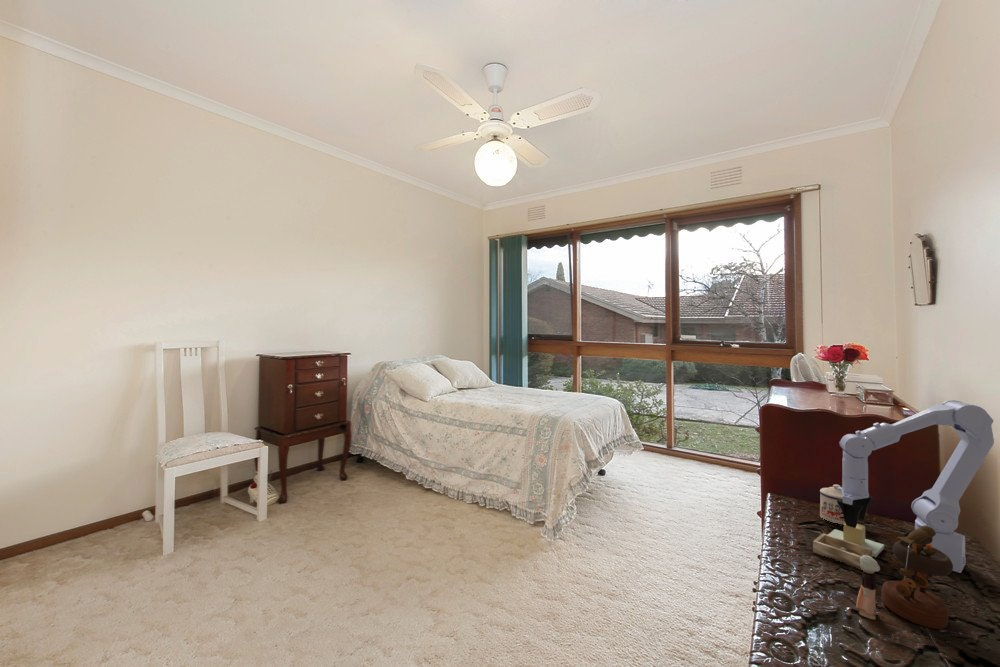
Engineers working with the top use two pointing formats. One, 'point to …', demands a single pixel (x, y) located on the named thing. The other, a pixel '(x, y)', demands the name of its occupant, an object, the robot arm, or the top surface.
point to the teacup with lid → (831, 504)
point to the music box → (918, 580)
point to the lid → (857, 538)
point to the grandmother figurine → (867, 587)
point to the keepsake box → (840, 550)
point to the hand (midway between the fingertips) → (855, 522)
